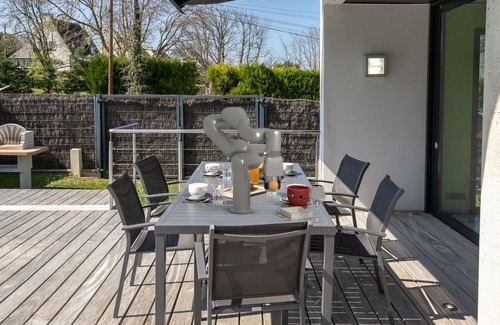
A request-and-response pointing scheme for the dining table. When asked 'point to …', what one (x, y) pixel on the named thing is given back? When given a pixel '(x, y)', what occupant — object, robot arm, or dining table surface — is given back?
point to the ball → (272, 185)
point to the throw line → (283, 217)
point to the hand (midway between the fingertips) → (272, 189)
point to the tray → (295, 213)
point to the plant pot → (298, 196)
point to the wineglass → (317, 198)
